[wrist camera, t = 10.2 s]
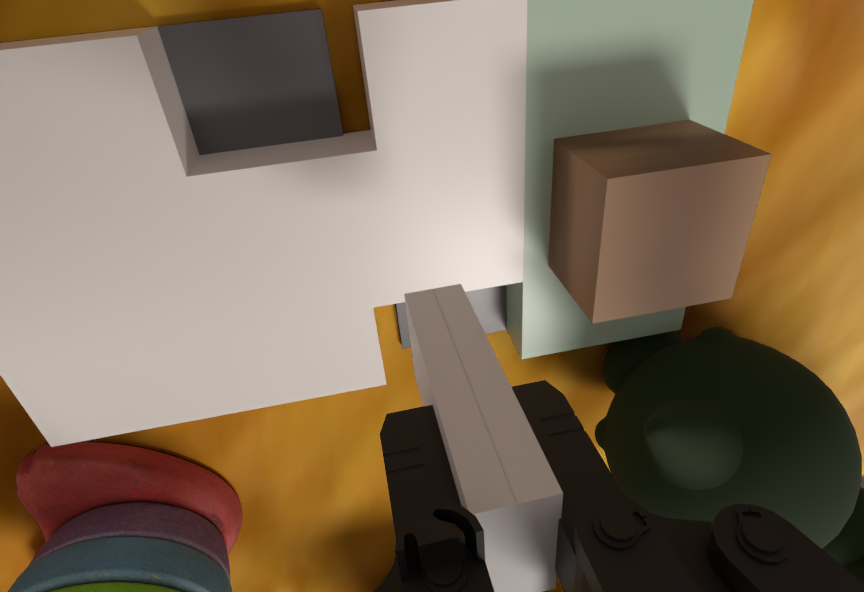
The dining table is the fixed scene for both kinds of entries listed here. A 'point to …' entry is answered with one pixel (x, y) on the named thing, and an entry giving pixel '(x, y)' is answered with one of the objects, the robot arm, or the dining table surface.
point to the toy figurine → (733, 436)
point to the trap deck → (309, 193)
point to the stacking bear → (126, 521)
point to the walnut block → (651, 216)
